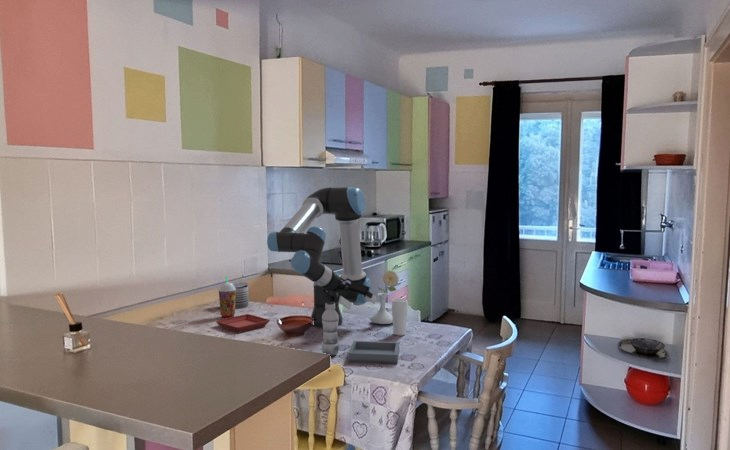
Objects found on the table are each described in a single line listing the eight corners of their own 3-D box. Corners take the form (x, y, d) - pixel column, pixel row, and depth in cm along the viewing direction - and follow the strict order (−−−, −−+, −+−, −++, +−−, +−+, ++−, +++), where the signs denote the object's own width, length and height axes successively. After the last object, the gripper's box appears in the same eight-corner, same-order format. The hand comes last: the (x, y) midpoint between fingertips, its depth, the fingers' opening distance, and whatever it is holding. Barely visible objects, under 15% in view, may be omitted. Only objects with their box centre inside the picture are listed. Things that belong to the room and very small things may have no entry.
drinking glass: (406, 336, 239) (406, 302, 237) (390, 336, 240) (390, 301, 239) (408, 332, 245) (408, 299, 244) (392, 331, 247) (393, 298, 245)
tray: (353, 349, 221) (353, 340, 221) (399, 350, 219) (399, 342, 219) (348, 362, 205) (348, 353, 205) (397, 364, 203) (397, 354, 203)
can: (248, 308, 292) (248, 285, 291) (226, 309, 289) (225, 286, 288) (248, 303, 303) (248, 281, 302) (226, 304, 300) (226, 282, 299)
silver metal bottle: (321, 352, 217) (321, 301, 215) (338, 352, 217) (338, 301, 216) (321, 357, 210) (321, 305, 209) (339, 357, 211) (339, 305, 209)
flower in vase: (371, 326, 256) (371, 272, 254) (370, 320, 267) (370, 268, 265) (399, 326, 256) (399, 272, 254) (397, 320, 267) (397, 268, 265)
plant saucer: (214, 327, 255) (214, 320, 255) (247, 320, 268) (247, 313, 268) (237, 334, 243) (237, 327, 243) (270, 326, 256) (270, 319, 256)
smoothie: (215, 318, 271) (214, 277, 269) (225, 314, 278) (225, 274, 277) (229, 319, 268) (229, 278, 266) (240, 315, 275) (239, 275, 274)
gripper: (301, 292, 216) (338, 316, 227) (347, 280, 200) (384, 307, 212) (306, 276, 220) (342, 300, 232) (351, 262, 204) (388, 289, 216)
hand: (362, 303), depth 222 cm, fingers open, 13 cm apart
